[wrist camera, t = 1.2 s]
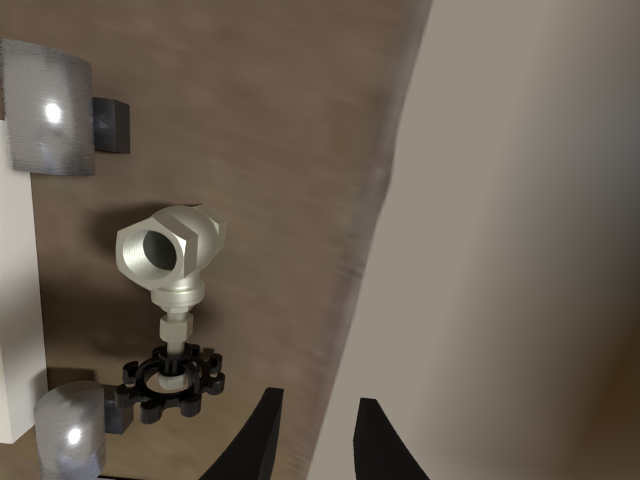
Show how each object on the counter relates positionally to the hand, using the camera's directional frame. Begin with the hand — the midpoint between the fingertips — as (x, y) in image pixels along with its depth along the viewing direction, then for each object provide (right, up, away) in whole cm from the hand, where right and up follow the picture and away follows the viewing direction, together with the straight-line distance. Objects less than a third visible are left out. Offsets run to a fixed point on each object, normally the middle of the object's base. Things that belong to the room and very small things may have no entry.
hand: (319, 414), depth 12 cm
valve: (-9, +4, +10) cm, 14 cm away
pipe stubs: (-16, +4, +10) cm, 19 cm away
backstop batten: (-21, +4, +10) cm, 24 cm away
